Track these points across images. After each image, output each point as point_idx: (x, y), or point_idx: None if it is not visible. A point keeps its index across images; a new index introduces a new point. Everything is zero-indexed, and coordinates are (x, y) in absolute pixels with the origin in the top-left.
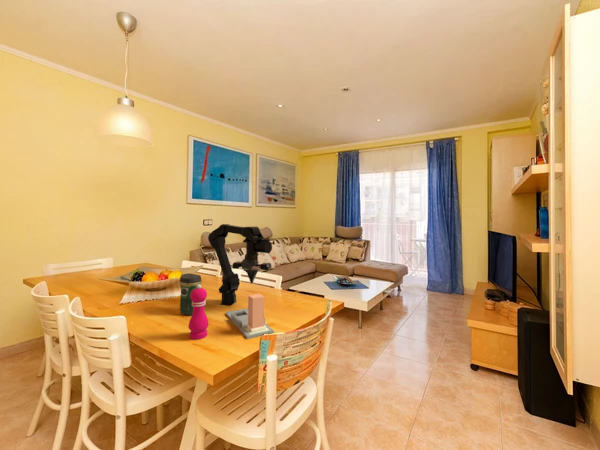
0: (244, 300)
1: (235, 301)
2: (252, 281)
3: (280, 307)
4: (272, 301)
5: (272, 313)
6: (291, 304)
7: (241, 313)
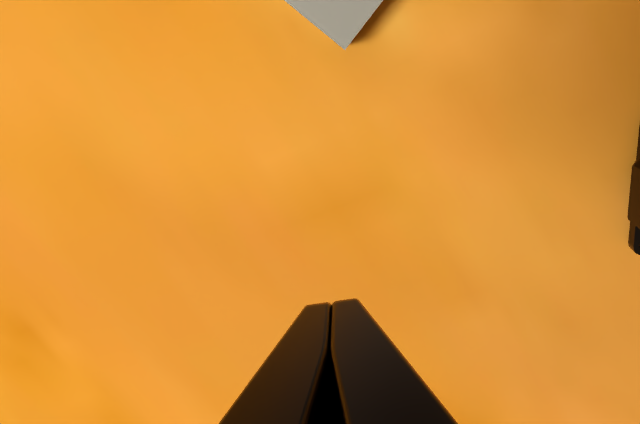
0: (556, 321)
1: (632, 207)
2: (289, 333)
3: (64, 275)
4: None
5: (3, 69)
6: (31, 382)
7: None
